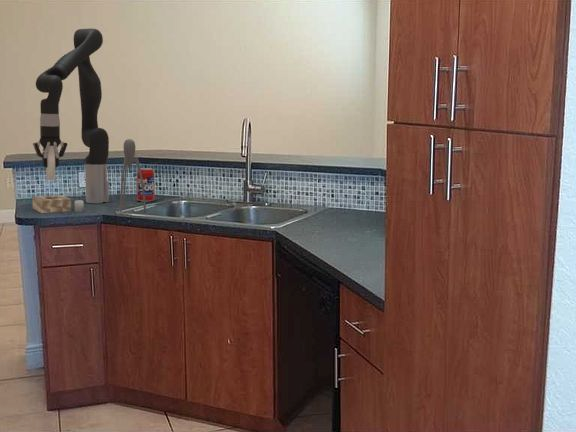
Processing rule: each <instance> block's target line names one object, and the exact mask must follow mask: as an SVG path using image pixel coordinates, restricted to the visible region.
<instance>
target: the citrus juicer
mask: <svg viewBox="0 0 576 432" xmlns="http://www.w3.org/2000/svg"><path fill="white" fill-rule="evenodd" d="M123 153H124V158H123V164H122V165H123V166H122V172H121V182H120V194H119V197H120V198H119V213H120V212H123V210H126V187H127V186H126V185H127V172H128V171H129V172H130V171H131V168H132V165H133V164H135V165H136V167H137V171H139V176H140V181H141V186H142V193H143V202H142V203H143V212H146V211H147V210H146V209H147V205H146V204H147V202H145V192H144V185H143V179H142V173H141V169H140V168H141V165H140V161H139V157H138V156H136V157H135V155H136V143H135V141H134V140H133V139H131V138H130V139H129V138H127V139H125V140H124V142H123ZM127 169H128V171H127ZM122 208H124V209H122Z"/></svg>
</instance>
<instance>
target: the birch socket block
mask: <svg viewBox="0 0 576 432" xmlns="http://www.w3.org/2000/svg"><path fill="white" fill-rule="evenodd" d="M31 199H32V210H34V211H36V212H38V213H40V214H51V213H62V212H63V213H65V212H72V198H69V197H67V196H64V195H47V196H46V195H45V196H32V198H31Z"/></svg>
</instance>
